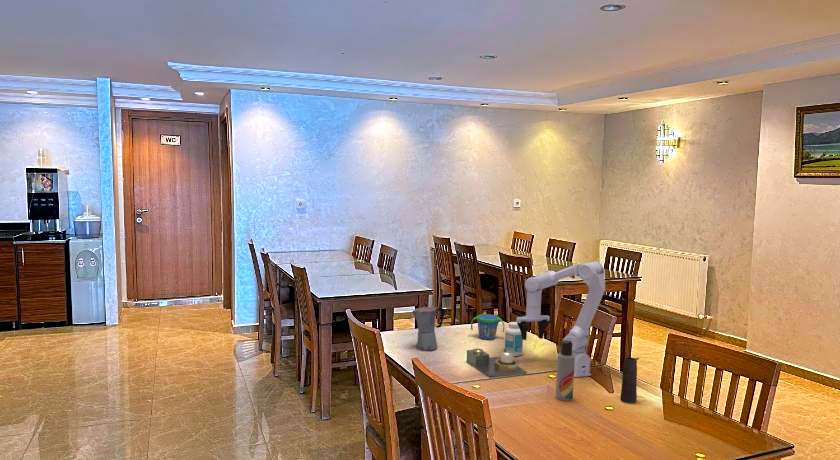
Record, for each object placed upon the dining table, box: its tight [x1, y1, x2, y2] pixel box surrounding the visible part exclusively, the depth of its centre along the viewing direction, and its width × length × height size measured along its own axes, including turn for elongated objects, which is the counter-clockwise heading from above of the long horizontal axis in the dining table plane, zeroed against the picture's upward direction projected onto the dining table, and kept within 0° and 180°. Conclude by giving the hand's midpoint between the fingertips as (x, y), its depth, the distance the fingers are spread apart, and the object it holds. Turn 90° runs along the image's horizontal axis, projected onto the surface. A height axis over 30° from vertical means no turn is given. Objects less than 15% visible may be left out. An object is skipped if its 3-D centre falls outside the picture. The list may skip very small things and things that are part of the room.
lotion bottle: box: [555, 339, 575, 402], centre depth 202 cm, size 6×6×20 cm
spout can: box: [499, 347, 514, 365], centre depth 231 cm, size 5×5×7 cm
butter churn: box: [620, 319, 640, 404], centre depth 201 cm, size 9×10×28 cm
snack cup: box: [470, 313, 505, 341], centre depth 276 cm, size 16×10×10 cm
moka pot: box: [411, 302, 446, 352], centre depth 257 cm, size 10×15×20 cm, turn 115°
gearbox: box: [466, 348, 528, 379], centre depth 233 cm, size 20×16×6 cm
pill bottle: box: [504, 321, 524, 357], centre depth 252 cm, size 8×7×14 cm
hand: (532, 338), depth 242 cm, fingers open, 7 cm apart
